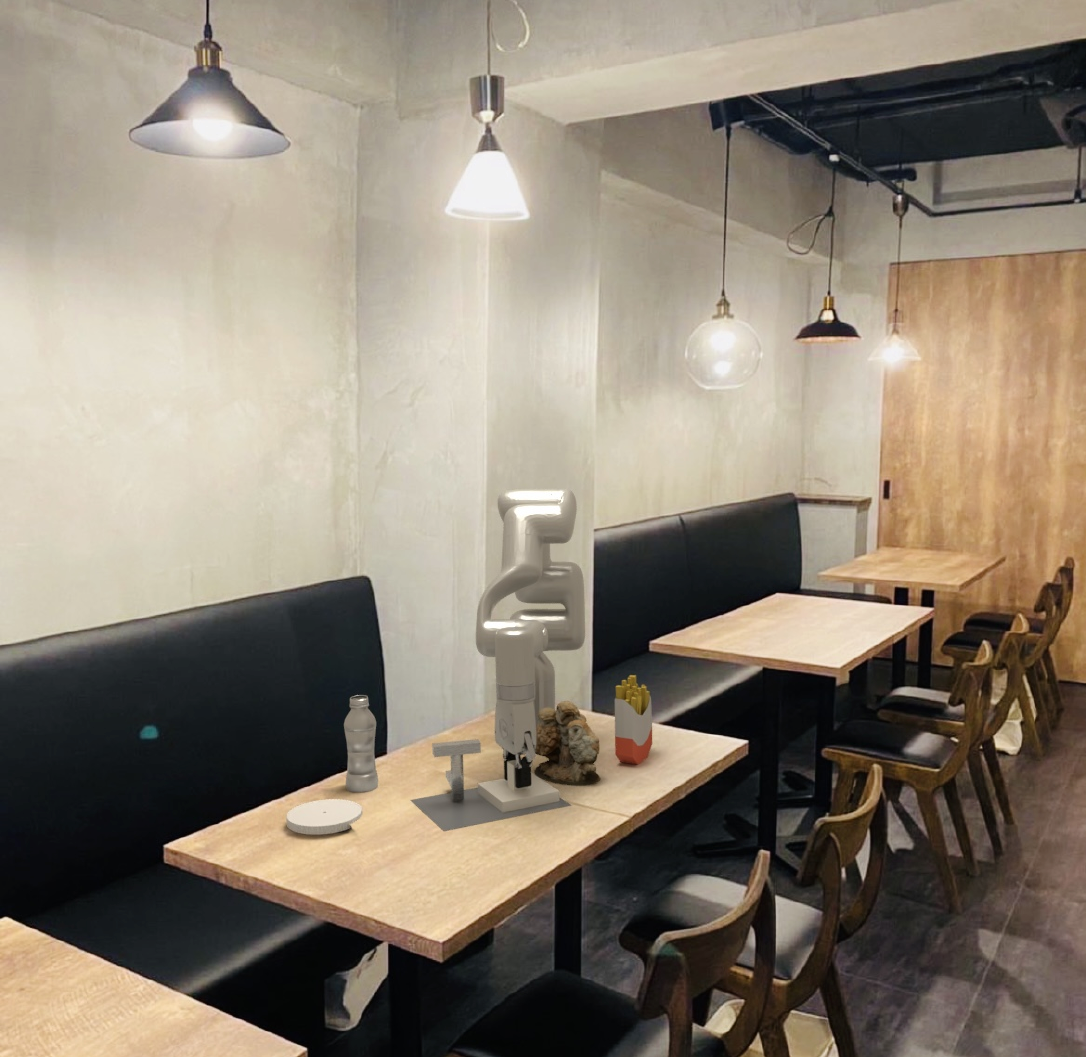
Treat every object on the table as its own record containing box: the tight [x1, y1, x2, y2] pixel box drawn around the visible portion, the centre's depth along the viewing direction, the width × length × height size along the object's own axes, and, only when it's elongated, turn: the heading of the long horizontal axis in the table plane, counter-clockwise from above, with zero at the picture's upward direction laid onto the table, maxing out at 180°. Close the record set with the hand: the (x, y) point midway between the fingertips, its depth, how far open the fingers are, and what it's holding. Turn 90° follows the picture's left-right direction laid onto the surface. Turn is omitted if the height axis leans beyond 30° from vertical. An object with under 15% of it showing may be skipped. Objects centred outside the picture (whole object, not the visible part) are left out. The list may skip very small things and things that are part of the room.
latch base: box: [410, 786, 572, 832], centre depth 204 cm, size 26×18×2 cm
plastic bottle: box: [343, 694, 379, 794], centre depth 213 cm, size 6×7×20 cm
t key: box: [431, 738, 482, 801], centre depth 207 cm, size 8×9×11 cm
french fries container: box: [614, 674, 653, 765], centre depth 231 cm, size 5×11×18 cm, turn 152°
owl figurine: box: [533, 700, 601, 787], centre depth 218 cm, size 18×12×17 cm, turn 52°
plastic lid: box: [285, 798, 364, 836], centre depth 198 cm, size 14×14×2 cm
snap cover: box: [477, 760, 561, 812], centre depth 206 cm, size 12×12×7 cm
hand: (517, 781), depth 206 cm, fingers open, 4 cm apart
